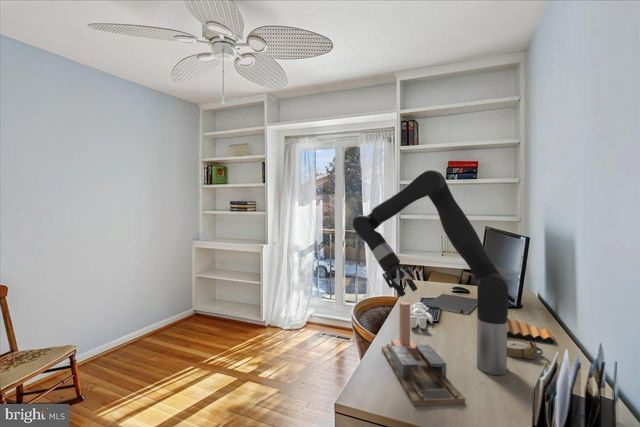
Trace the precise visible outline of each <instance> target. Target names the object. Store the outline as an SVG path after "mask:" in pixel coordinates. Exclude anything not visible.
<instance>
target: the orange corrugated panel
mask: <svg viewBox="0 0 640 427" xmlns="http://www.w3.org/2000/svg"><path fill="white" fill-rule="evenodd" d="M514 337H515V338H514ZM507 338H508V339H519V340H523V341H528V342H530V341H531V342H533V341H535V342H538V343H545V344H551V345H553V344H554V343H555V338H554V337H553V335H552V333H551V331H549V330H548V329H547V328H543V329H541V330H540V328H539V327H537V326H536V325H532V326H530V325H529V324H528V323H526V322H523V323H520V321H518V320H517V319H513V320H512V321H511V319H510V318H509V317H507Z"/></svg>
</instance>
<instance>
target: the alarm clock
mask: <svg viewBox="0 0 640 427" xmlns="http://www.w3.org/2000/svg"><path fill="white" fill-rule="evenodd" d="M538 351H539V352H538ZM542 355H544V350H543V349H542V348H540V347H538V346H537V344H536V343H535V342H533V341H527V340H524V339H523V340H522V339H516V338H507V357H514V358H525V359H526V360H530V361H531V360H533V359H534V358H535V356H538V357H539V356H542Z"/></svg>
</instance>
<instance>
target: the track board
mask: <svg viewBox="0 0 640 427" xmlns="http://www.w3.org/2000/svg"><path fill="white" fill-rule="evenodd" d="M381 352H382V354H383V355H384V357H385V359H386V361H387V362H388V364H389V366H390V367H391V369H392V371H393V373H394V374H395V376H396V378H397V379H398V381H399V383H400V385H401V386H402V389H403V390H404V392H405V393H406V395H407V397H408V398H409V400H410V402H411V404H412V405H413V407H421V406H422V407H425V406H426V407H427V406H437V405H438V406H444V405H445V406H446V405H465V404H466V398H465V397H464V396H463V395H462V393H461V392H460V391H459V390H458V389H457V388H456V386H455V385H454V384H453V382H451V380H449V378H448V377H447V376H446V379H444V378H443V377H442V376H441V374H440V373H439V372H438V371H437V370H436V368H435V367H431V366H430V365H429V364H428V363H427V361H426V360H425V359H424V358H423V357H422V355H421V354H420V353H419V356H413V357H414V359H415V360H416V361H417V363H418V364H419V367H414V368H408V380H403V379H402V377H401V376H400V374H399V372H398V371H397V369H396V367H395V366H394V364H393V362H392V361H391V343H387V344H386V346H381Z"/></svg>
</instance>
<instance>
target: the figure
mask: <svg viewBox="0 0 640 427" xmlns="http://www.w3.org/2000/svg"><path fill="white" fill-rule="evenodd" d="M428 311H429V307H426V305H425V304H424V303H423V302H420V301H418V302H417V301H416V302H415V303H414V304H413V305H410V328H417V327H419V329H422V330H423V329H426V328H427V321H428V322H429V323H431V324H433V320H434V319H433V318H434V317H433V316H432V314H431V313H429V312H428Z"/></svg>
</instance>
